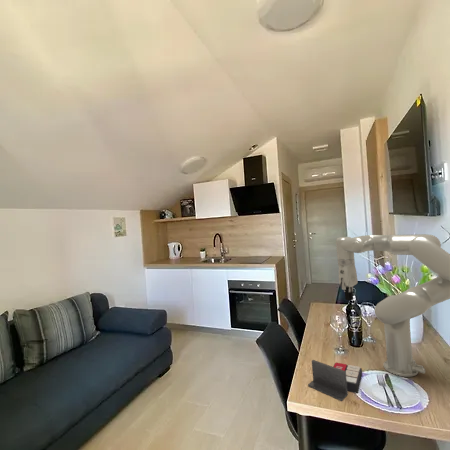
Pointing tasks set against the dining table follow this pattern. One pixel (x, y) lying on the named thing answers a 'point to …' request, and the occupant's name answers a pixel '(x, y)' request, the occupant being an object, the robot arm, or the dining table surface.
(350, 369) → the red and tan block
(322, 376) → the bookend
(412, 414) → the dining table surface
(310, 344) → the dining table surface
